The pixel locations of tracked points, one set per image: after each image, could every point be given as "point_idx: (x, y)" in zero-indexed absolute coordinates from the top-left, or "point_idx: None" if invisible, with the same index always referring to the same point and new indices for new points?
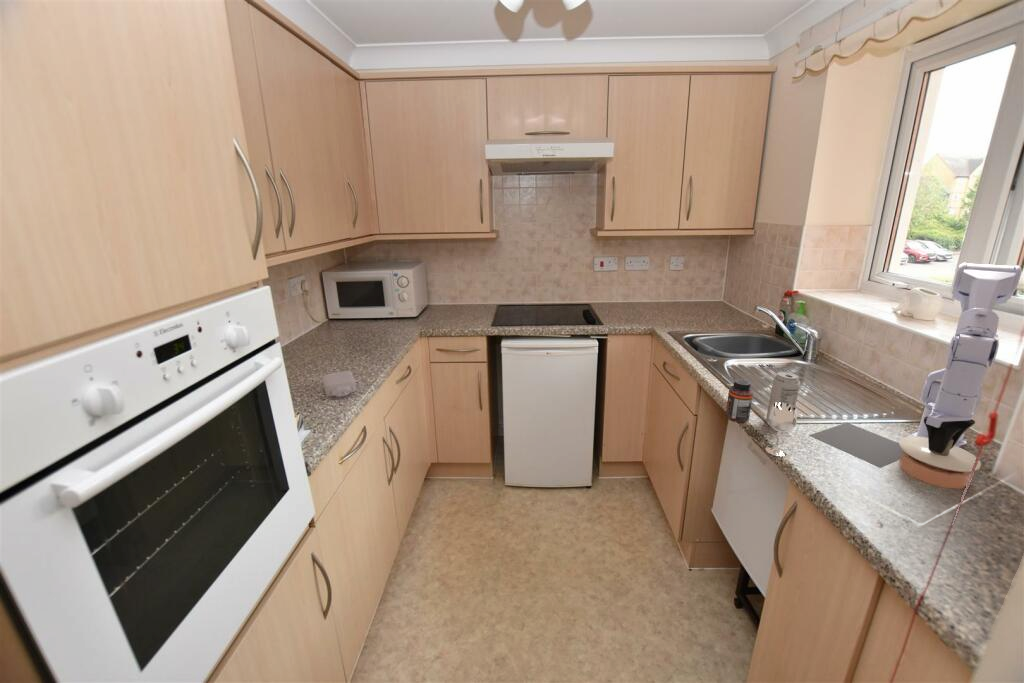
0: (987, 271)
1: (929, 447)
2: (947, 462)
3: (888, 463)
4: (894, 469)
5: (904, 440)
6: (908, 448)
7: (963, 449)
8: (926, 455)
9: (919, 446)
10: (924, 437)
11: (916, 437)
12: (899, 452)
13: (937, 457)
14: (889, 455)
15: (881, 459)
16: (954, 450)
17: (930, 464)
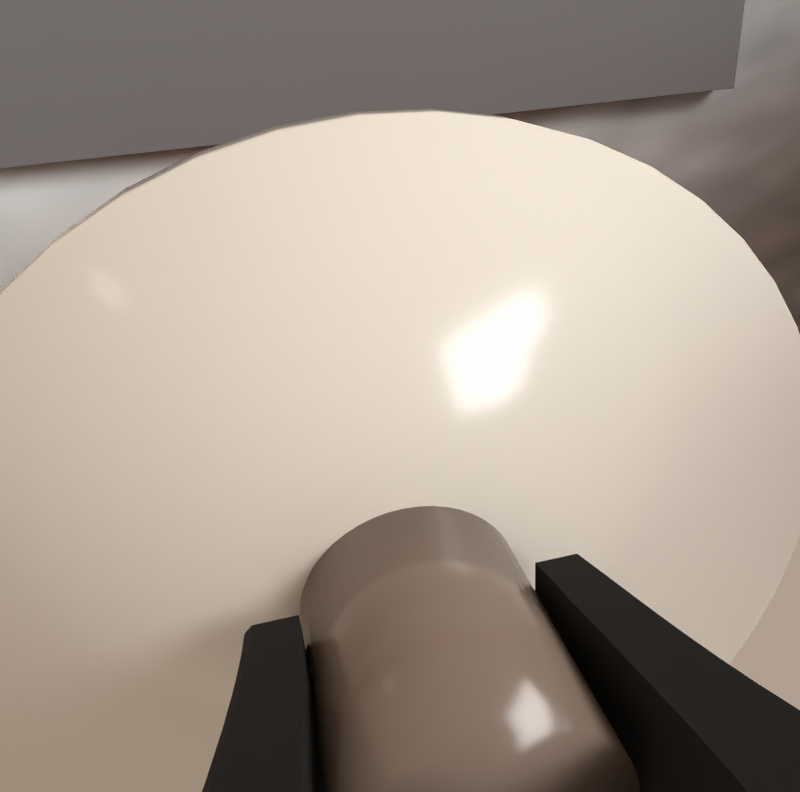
0: None
1: (245, 653)
2: None
3: (35, 156)
4: (42, 244)
5: (262, 218)
6: (17, 450)
7: (765, 601)
8: (113, 645)
9: (302, 446)
10: (737, 255)
11: (617, 211)
12: (486, 11)
13: (218, 699)
14: (266, 11)
15: (33, 40)
16: (648, 600)
17: None
